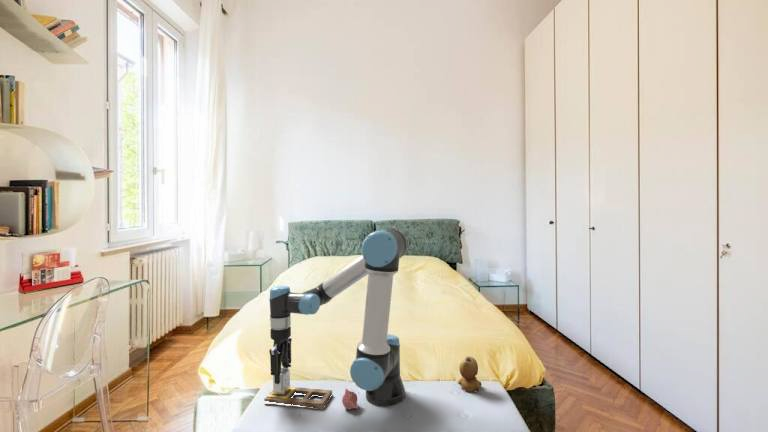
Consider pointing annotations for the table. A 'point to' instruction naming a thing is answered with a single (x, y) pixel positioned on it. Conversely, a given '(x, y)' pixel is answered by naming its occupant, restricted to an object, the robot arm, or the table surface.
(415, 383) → the table surface
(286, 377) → the block
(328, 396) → the board
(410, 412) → the table surface
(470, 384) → the figurine
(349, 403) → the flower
